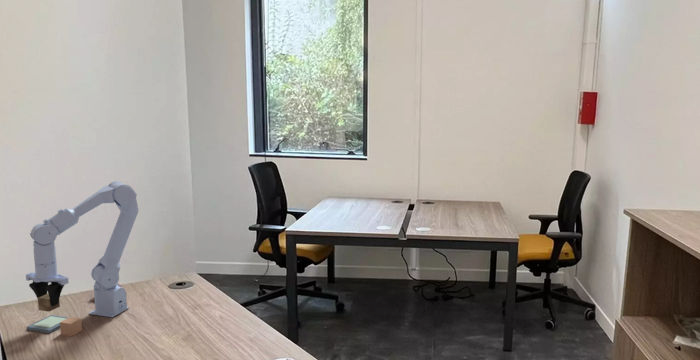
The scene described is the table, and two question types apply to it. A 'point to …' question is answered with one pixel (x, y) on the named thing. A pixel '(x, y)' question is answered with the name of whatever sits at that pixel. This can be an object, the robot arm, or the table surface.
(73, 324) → the terracotta cube
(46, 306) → the brass cube
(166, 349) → the table surface
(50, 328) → the baseplate
